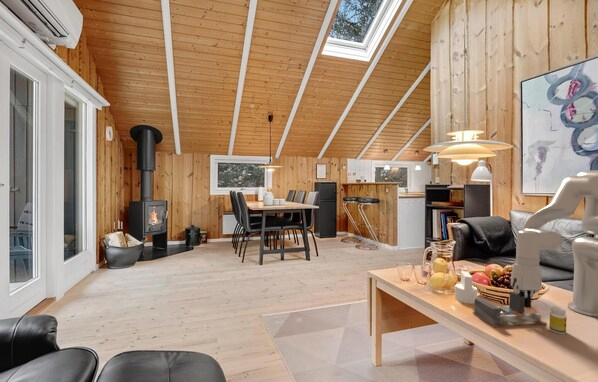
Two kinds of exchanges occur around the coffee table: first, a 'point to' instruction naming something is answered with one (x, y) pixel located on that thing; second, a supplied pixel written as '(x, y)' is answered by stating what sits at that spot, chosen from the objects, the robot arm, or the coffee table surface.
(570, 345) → the coffee table surface
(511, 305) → the l-shaped angle bracket
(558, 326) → the supplement bottle
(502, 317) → the gauge base
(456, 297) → the cylinder with rectangular tab
